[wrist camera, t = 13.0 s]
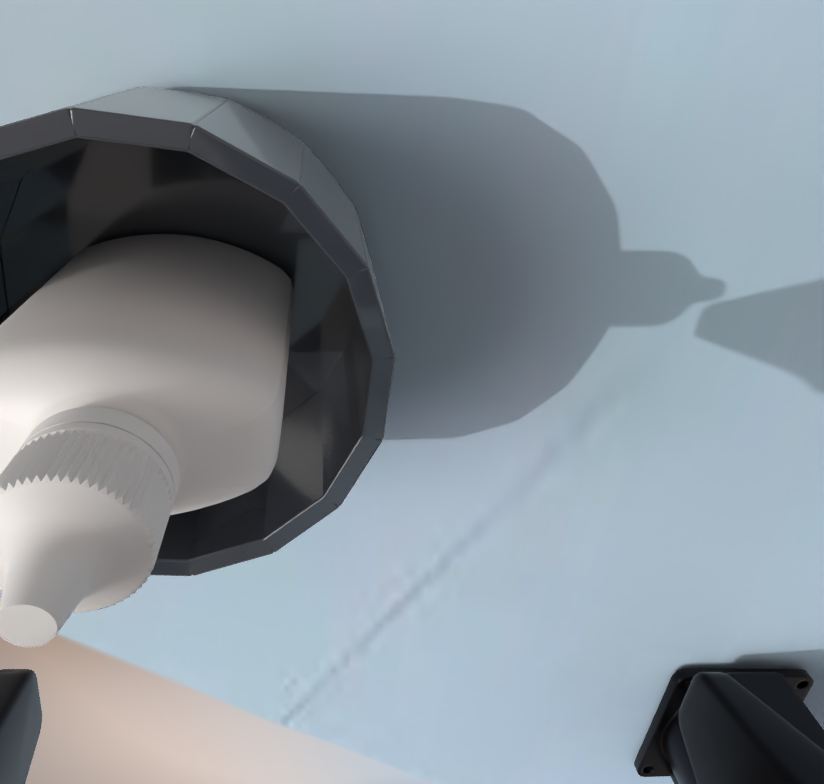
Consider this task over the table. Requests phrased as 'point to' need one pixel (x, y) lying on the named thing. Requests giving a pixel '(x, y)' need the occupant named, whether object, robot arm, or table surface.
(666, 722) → the robot arm
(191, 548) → the tumbler
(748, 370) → the table surface
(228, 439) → the eye dropper bottle
